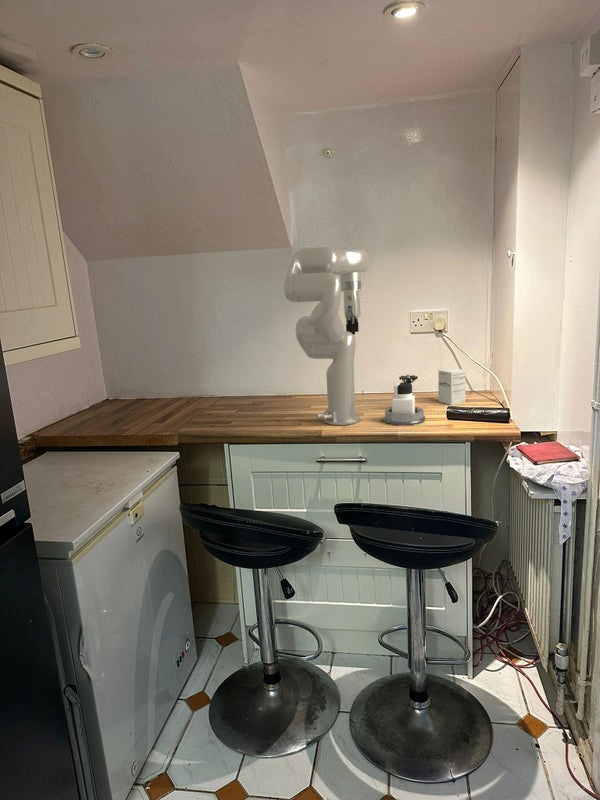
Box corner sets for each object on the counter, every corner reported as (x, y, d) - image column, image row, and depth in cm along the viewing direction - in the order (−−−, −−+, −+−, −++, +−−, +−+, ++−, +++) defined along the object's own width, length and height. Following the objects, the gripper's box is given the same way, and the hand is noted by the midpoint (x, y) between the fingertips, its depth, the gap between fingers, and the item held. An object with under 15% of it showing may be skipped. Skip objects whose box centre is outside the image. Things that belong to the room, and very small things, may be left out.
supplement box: (437, 402, 221) (437, 369, 218) (452, 399, 224) (452, 367, 221) (451, 405, 214) (451, 372, 212) (466, 402, 218) (466, 369, 215)
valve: (417, 405, 217) (416, 374, 214) (418, 410, 211) (418, 377, 208) (399, 406, 218) (398, 375, 215) (400, 410, 211) (399, 378, 209)
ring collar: (400, 427, 188) (399, 417, 188) (375, 419, 201) (375, 409, 200) (433, 420, 194) (433, 410, 194) (408, 413, 207) (407, 403, 206)
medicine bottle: (415, 415, 200) (414, 381, 197) (413, 420, 193) (412, 385, 190) (394, 414, 202) (393, 381, 199) (391, 420, 195) (391, 385, 192)
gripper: (357, 287, 202) (359, 335, 206) (363, 285, 219) (365, 330, 222) (336, 288, 204) (339, 336, 208) (344, 286, 220) (346, 331, 224)
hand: (352, 333), depth 215 cm, fingers open, 9 cm apart
